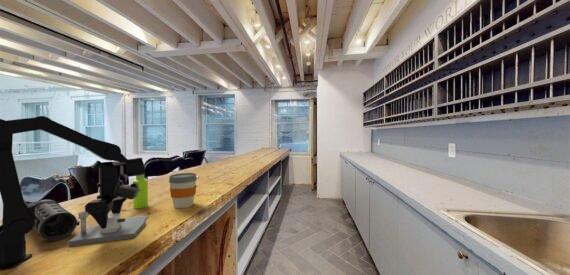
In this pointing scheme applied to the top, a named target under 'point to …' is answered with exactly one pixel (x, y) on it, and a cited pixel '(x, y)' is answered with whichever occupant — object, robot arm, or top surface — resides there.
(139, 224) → the socket block
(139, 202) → the soap dispenser
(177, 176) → the reusable coffee cup
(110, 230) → the plug
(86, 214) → the tan wooden bar
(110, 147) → the robot arm
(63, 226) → the muzzle brake
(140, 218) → the mat
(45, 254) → the top surface
